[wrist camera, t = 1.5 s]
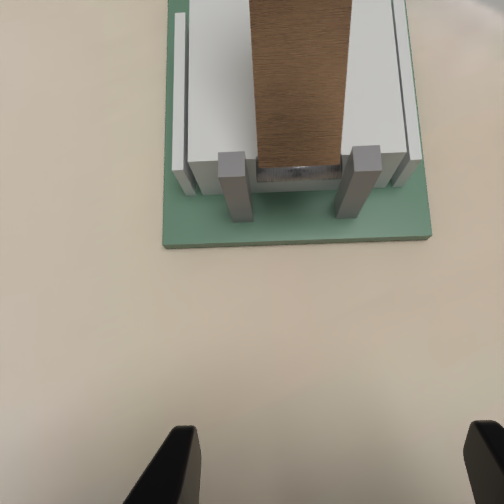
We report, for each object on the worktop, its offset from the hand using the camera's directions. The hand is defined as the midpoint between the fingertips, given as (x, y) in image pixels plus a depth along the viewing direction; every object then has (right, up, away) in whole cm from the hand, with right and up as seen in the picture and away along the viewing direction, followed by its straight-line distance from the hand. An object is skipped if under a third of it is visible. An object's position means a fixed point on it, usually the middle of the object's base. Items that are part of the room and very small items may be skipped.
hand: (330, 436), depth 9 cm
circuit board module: (0, +11, +16) cm, 19 cm away
